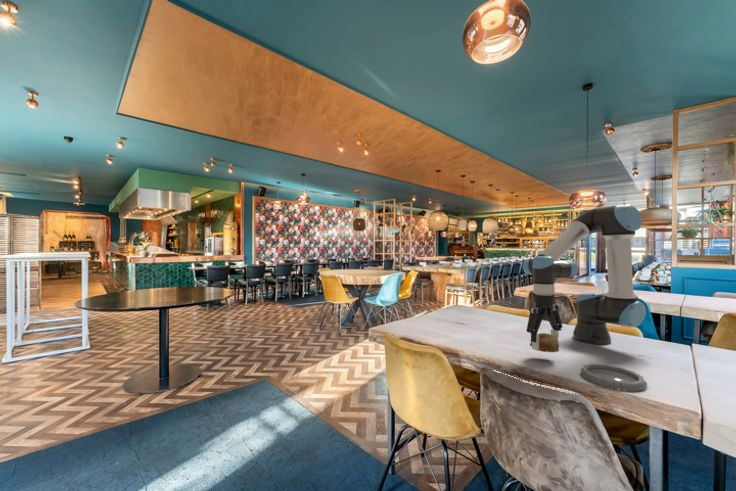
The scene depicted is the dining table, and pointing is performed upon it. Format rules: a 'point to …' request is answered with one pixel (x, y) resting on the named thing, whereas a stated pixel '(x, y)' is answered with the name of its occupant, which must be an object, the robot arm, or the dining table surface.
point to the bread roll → (547, 343)
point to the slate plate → (613, 377)
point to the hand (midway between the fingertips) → (545, 347)
